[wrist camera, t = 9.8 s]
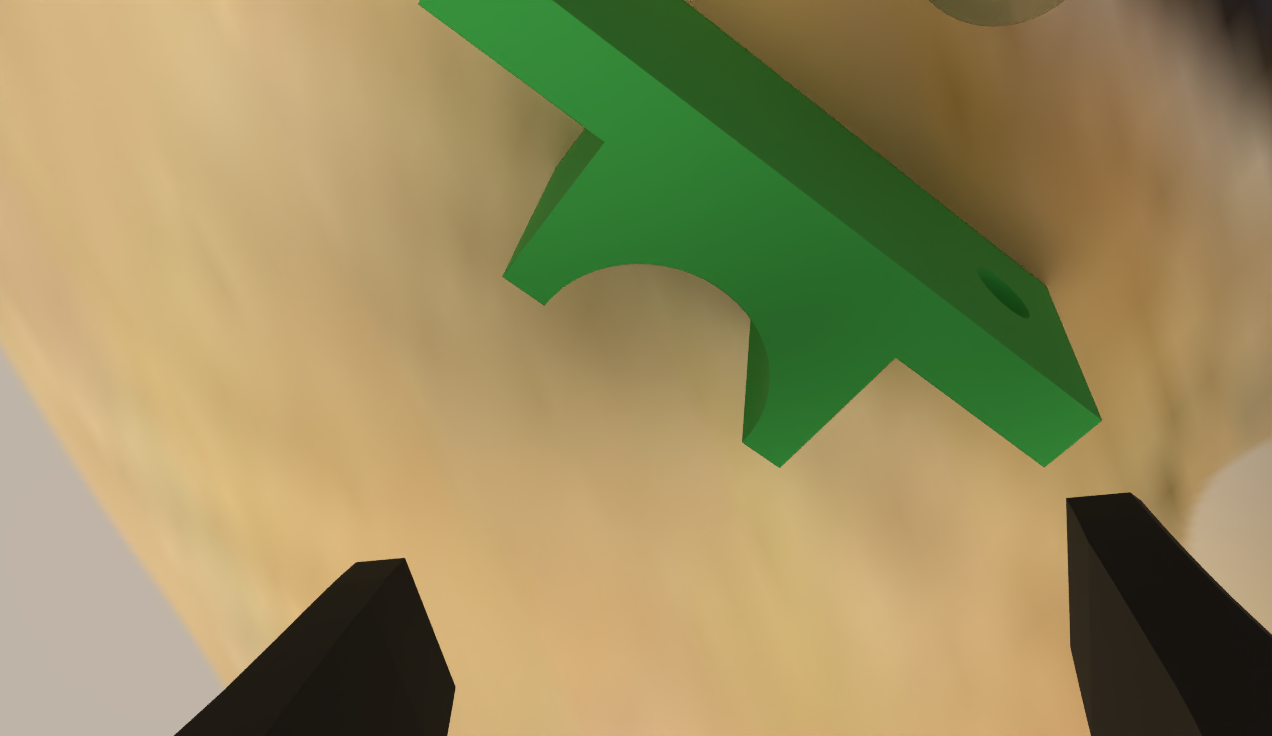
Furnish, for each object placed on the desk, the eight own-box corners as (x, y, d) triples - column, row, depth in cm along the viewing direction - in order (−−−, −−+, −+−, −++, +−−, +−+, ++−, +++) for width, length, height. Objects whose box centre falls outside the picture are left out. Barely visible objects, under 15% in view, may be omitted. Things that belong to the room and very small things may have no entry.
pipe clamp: (416, 62, 20) (321, 153, 16) (534, -124, 18) (458, -73, 14) (902, 417, 22) (923, 572, 18) (1047, 284, 20) (1106, 424, 16)
